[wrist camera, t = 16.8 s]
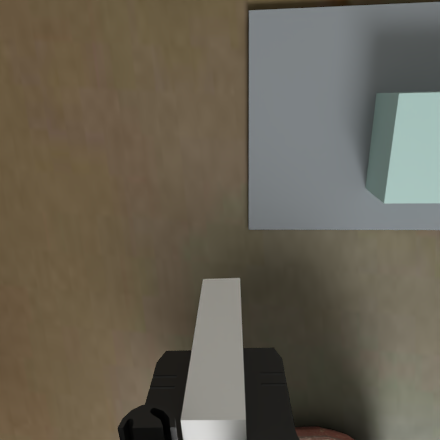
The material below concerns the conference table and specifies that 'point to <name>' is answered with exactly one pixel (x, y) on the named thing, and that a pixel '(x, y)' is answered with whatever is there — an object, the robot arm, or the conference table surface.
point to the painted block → (405, 148)
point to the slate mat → (332, 111)
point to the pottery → (320, 434)
